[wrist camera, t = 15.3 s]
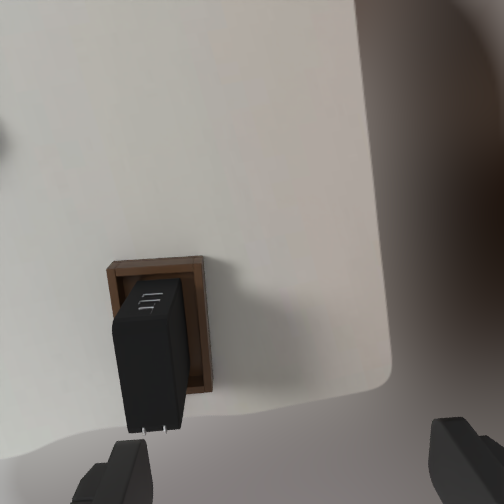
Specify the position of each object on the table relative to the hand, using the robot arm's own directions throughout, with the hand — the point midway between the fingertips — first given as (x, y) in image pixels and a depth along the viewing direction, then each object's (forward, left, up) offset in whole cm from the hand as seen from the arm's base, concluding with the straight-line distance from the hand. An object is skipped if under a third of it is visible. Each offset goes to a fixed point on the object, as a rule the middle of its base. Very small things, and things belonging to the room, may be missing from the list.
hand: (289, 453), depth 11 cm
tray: (+8, +9, -29) cm, 31 cm away
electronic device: (+8, +9, -28) cm, 31 cm away
